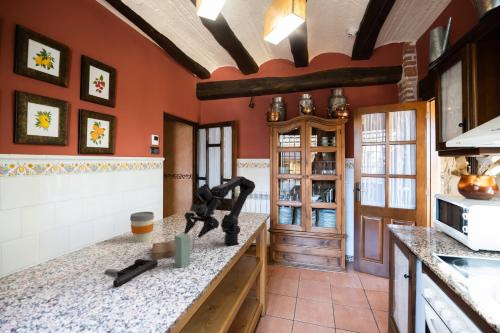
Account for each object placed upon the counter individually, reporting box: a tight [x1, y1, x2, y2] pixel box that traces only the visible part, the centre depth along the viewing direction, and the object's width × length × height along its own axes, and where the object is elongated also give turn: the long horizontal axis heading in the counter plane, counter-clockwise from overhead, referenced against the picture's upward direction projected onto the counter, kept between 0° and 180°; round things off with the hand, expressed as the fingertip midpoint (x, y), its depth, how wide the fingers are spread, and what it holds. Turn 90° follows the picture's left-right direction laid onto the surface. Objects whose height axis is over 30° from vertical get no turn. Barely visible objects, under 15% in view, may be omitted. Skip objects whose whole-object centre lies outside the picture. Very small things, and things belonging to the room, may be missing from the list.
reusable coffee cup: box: [129, 211, 155, 243], centre depth 138 cm, size 13×13×15 cm
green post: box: [174, 232, 191, 269], centre depth 104 cm, size 4×4×13 cm
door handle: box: [104, 258, 159, 288], centre depth 97 cm, size 3×20×16 cm
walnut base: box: [152, 240, 175, 260], centre depth 119 cm, size 14×14×3 cm
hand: (191, 235), depth 108 cm, fingers open, 9 cm apart
